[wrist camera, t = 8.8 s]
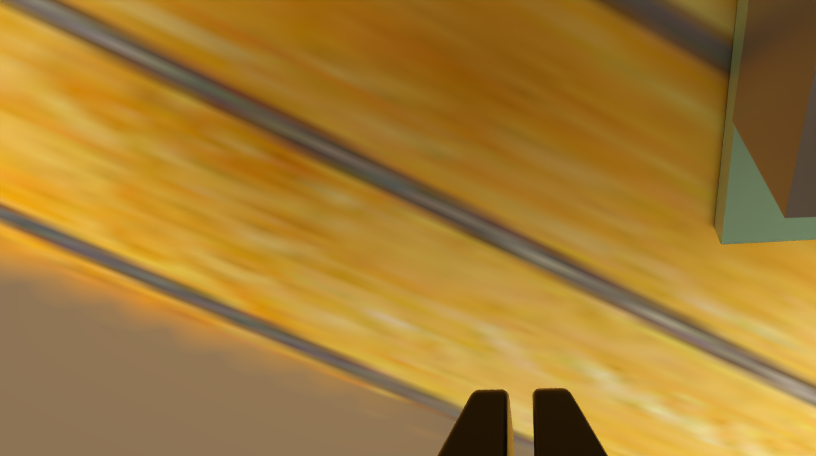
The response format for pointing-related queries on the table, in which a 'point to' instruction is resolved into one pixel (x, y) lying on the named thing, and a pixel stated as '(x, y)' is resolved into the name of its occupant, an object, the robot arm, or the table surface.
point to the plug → (780, 100)
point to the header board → (748, 178)
